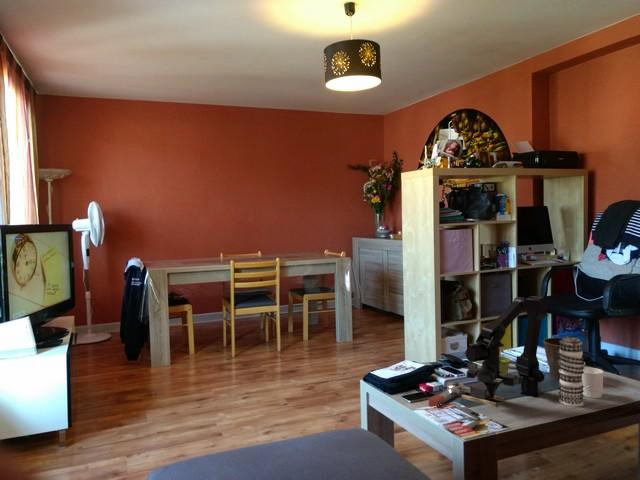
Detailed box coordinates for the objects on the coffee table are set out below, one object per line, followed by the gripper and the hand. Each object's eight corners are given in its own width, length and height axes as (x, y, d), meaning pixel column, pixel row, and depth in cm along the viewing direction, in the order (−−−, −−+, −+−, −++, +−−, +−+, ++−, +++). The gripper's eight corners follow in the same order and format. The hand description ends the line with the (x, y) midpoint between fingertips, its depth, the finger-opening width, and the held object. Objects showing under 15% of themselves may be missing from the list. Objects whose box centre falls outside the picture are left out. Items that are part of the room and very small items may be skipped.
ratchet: (483, 396, 203) (483, 386, 203) (457, 413, 187) (457, 402, 187) (452, 388, 213) (452, 379, 212) (424, 404, 196) (424, 393, 196)
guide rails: (503, 400, 198) (503, 397, 198) (495, 406, 192) (495, 403, 192) (470, 392, 207) (470, 389, 207) (461, 398, 202) (461, 395, 202)
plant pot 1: (486, 374, 230) (486, 355, 229) (508, 374, 229) (508, 355, 228) (490, 381, 221) (490, 361, 220) (513, 381, 219) (513, 361, 219)
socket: (490, 398, 200) (490, 386, 200) (484, 402, 196) (484, 389, 196) (475, 395, 204) (475, 383, 204) (470, 399, 201) (470, 386, 200)
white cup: (602, 393, 203) (602, 368, 202) (604, 399, 196) (604, 374, 195) (580, 390, 206) (580, 366, 206) (581, 397, 199) (581, 372, 198)
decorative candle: (554, 397, 199) (553, 335, 198) (578, 398, 198) (578, 335, 197) (562, 406, 190) (562, 341, 189) (588, 406, 189) (588, 341, 188)
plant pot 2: (552, 370, 233) (552, 335, 232) (586, 377, 222) (586, 341, 221) (537, 377, 223) (537, 342, 222) (573, 385, 212) (572, 348, 211)
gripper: (459, 359, 196) (460, 398, 197) (507, 367, 184) (507, 409, 185) (472, 352, 205) (473, 390, 205) (518, 360, 192) (519, 401, 193)
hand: (492, 397), depth 197 cm, fingers closed
